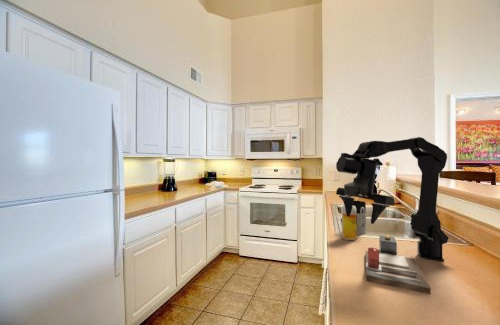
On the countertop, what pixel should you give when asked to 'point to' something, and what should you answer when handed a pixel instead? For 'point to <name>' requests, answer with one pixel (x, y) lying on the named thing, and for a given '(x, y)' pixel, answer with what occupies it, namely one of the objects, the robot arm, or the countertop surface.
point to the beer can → (349, 224)
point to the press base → (398, 273)
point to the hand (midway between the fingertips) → (359, 219)
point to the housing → (387, 245)
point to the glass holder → (360, 216)
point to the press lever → (373, 260)
